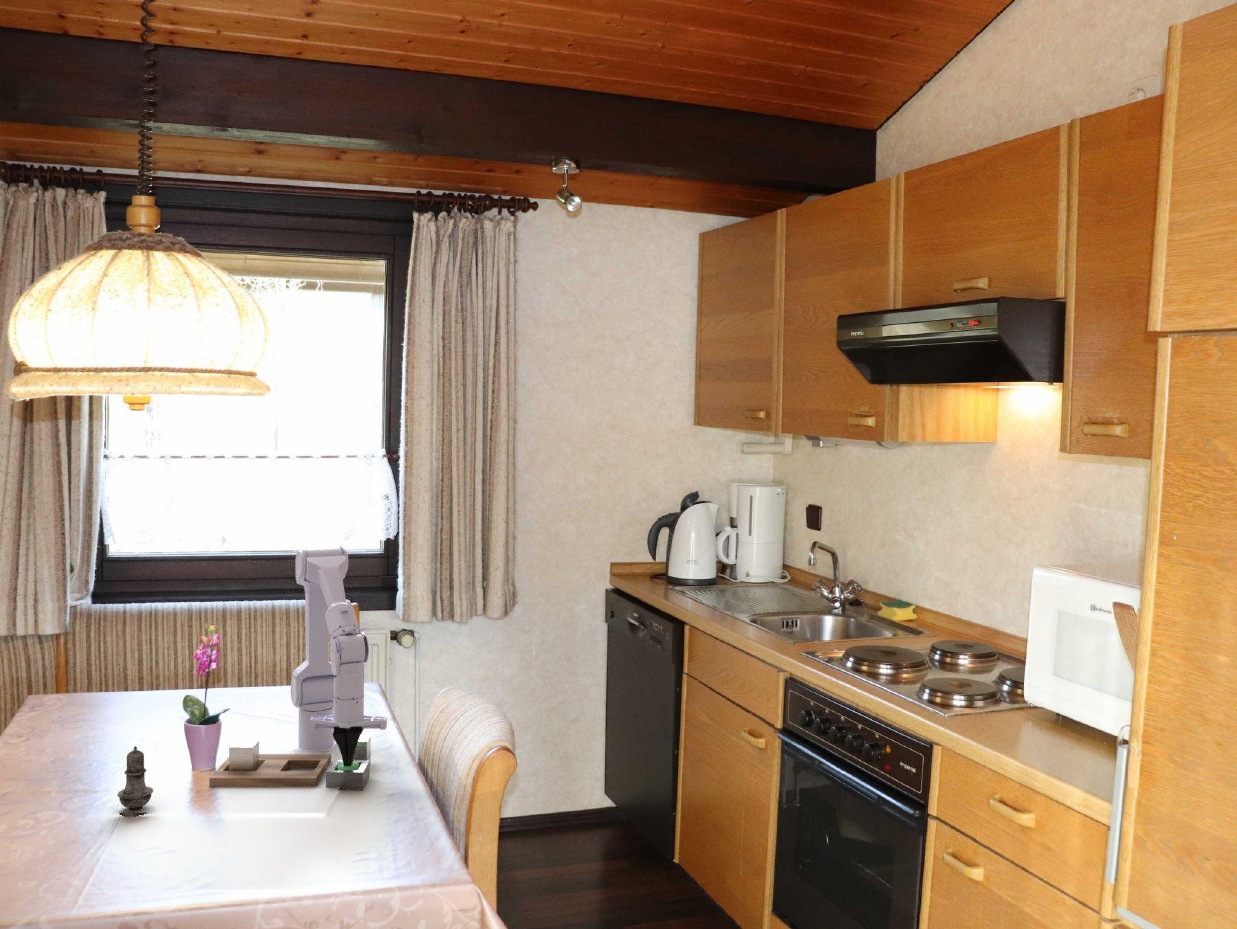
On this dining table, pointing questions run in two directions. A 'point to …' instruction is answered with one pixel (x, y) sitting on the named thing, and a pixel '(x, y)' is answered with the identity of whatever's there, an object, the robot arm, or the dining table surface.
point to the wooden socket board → (275, 772)
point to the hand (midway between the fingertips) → (348, 764)
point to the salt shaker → (135, 784)
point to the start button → (353, 767)
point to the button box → (348, 776)
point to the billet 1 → (244, 755)
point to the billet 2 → (363, 748)
